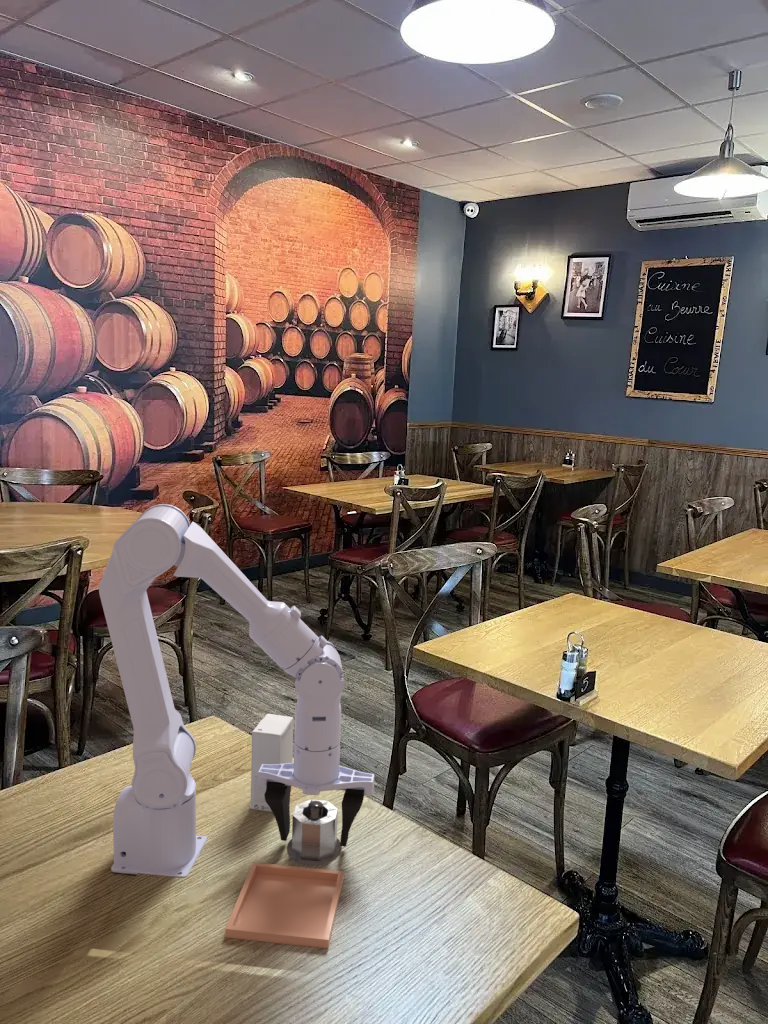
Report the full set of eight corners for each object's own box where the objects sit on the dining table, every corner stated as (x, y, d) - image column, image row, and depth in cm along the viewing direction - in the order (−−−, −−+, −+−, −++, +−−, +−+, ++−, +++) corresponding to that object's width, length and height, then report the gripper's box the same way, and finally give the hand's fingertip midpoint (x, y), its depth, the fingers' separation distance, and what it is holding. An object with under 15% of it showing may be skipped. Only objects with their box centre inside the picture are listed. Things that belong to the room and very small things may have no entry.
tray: (225, 941, 80) (225, 928, 80) (252, 873, 91) (252, 862, 91) (328, 952, 79) (328, 939, 79) (343, 882, 90) (344, 871, 90)
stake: (281, 865, 93) (282, 818, 92) (293, 831, 100) (294, 787, 99) (337, 871, 92) (338, 823, 91) (345, 836, 99) (346, 792, 98)
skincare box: (279, 816, 103) (280, 735, 101) (249, 811, 104) (250, 731, 102) (293, 792, 109) (294, 716, 107) (265, 788, 110) (266, 712, 108)
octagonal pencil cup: (289, 858, 93) (289, 822, 93) (298, 832, 99) (298, 798, 98) (331, 862, 93) (332, 826, 92) (338, 836, 98) (339, 802, 97)
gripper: (251, 751, 90) (250, 852, 92) (371, 761, 89) (367, 864, 91) (266, 724, 97) (265, 819, 99) (377, 733, 96) (373, 829, 98)
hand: (314, 838), depth 96 cm, fingers open, 7 cm apart
